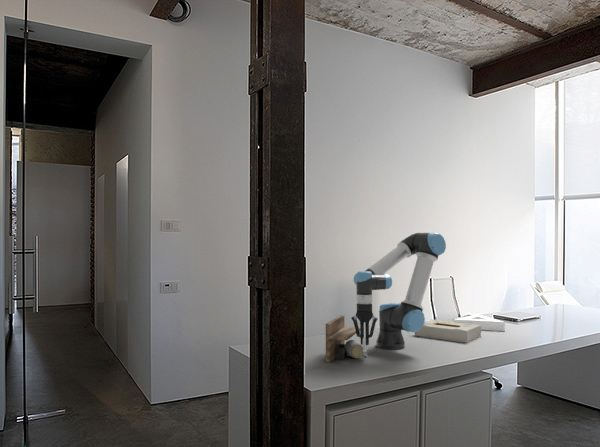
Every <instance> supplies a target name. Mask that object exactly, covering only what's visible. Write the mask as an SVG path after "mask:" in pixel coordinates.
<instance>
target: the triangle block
mask: <svg viewBox="0 0 600 447" xmlns="http://www.w3.org/2000/svg"><path fill="white" fill-rule="evenodd" d="M453 320H454V321H453V322H455V323H463V324H466V323H469V324H476V325H480V326H481V331H493V332H494V331H497V332H505V331H506V326H505V323H506V322H505V321H502V320H499V319H496V318H493V317H489V316H485V315H482V314H477V313H476V314H474V315H467V316H464V317H460V318H454V319H453Z"/></svg>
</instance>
